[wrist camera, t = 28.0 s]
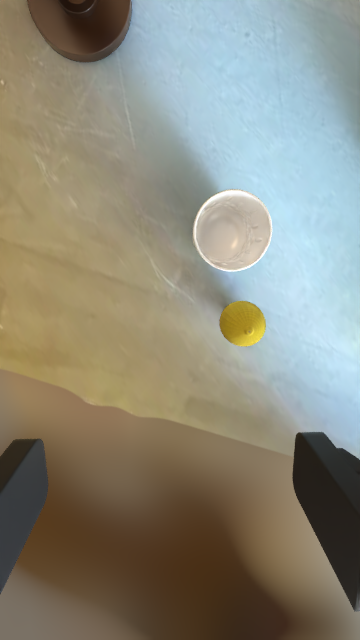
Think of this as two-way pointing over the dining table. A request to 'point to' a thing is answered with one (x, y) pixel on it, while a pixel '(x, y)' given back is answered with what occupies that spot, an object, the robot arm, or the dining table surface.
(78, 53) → the paper towel holder
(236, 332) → the lemon
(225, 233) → the white cup
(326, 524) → the robot arm
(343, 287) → the dining table surface
